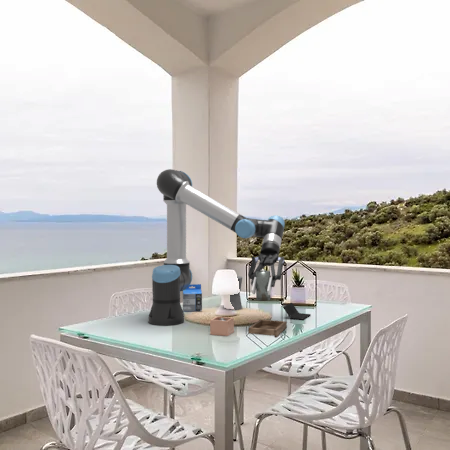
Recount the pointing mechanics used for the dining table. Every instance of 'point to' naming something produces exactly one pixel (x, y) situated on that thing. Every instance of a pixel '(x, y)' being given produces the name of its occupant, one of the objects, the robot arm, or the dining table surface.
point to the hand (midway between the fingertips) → (260, 292)
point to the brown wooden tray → (268, 327)
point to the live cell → (262, 285)
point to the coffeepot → (237, 297)
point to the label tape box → (192, 298)
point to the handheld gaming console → (295, 313)
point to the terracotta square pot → (221, 326)
